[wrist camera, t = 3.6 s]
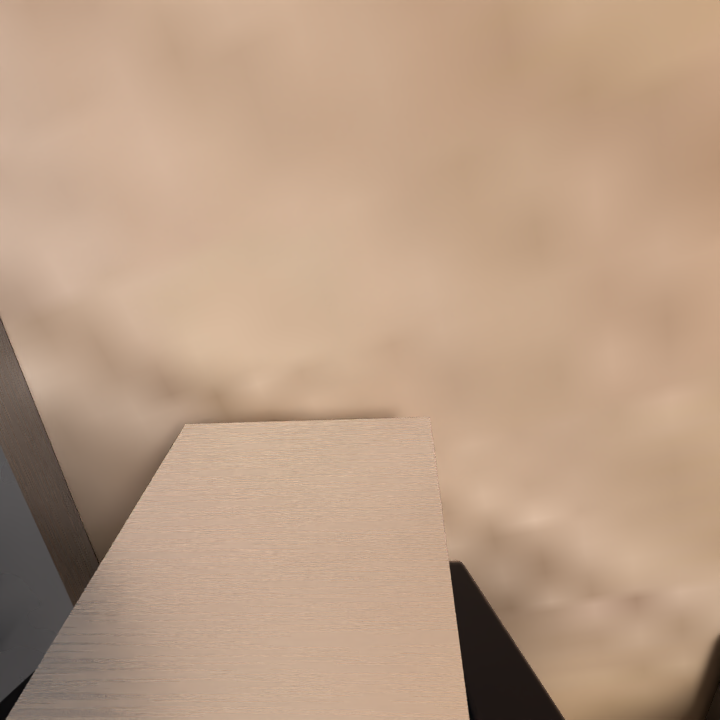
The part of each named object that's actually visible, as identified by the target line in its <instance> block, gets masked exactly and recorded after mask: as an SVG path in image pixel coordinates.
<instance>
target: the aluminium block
mask: <svg viewBox="0 0 720 720" xmlns="http://www.w3.org/2000/svg"><path fill="white" fill-rule="evenodd" d="M6 720H469V712H468V705H467V697H466V689H465V682H464V674H463V666H462V659H461V651H460V643H459V636H458V628H457V620H456V613H455V605H454V597H453V590H452V582H451V574H450V567H449V559H448V551H447V544H446V536H445V528H444V521H443V513H442V505H441V498H440V490H439V482H438V475H437V467H436V459H435V452H434V444H433V436H432V429H431V421H430V417H411V418H377V419H343V420H310V421H276V422H242V423H209V424H185V426H184V427H183V429H182V431H181V432H180V434H179V436H178V437H177V439H176V441H175V442H174V444H173V445H172V447H171V449H170V450H169V452H168V454H167V455H166V457H165V459H164V460H163V462H162V464H161V465H160V467H159V468H158V470H157V472H156V473H155V475H154V477H153V478H152V480H151V482H150V483H149V485H148V487H147V488H146V490H145V491H144V493H143V495H142V496H141V498H140V500H139V501H138V503H137V505H136V506H135V508H134V510H133V511H132V513H131V514H130V516H129V518H128V519H127V521H126V523H125V524H124V526H123V528H122V529H121V531H120V532H119V534H118V536H117V537H116V539H115V541H114V542H113V544H112V546H111V547H110V549H109V551H108V552H107V554H106V555H105V557H104V559H103V560H102V562H101V564H100V565H99V567H98V569H97V570H96V572H95V574H94V575H93V577H92V578H91V580H90V582H89V583H88V585H87V587H86V588H85V590H84V592H83V593H82V595H81V597H80V598H79V600H78V601H77V603H76V605H75V606H74V608H73V610H72V611H71V613H70V615H69V616H68V618H67V620H66V621H65V623H64V624H63V626H62V628H61V629H60V631H59V633H58V634H57V636H56V638H55V639H54V641H53V643H52V644H51V646H50V647H49V649H48V651H47V652H46V654H45V656H44V657H43V659H42V661H41V662H40V664H39V666H38V667H37V669H36V670H35V672H34V674H33V675H32V677H31V679H30V680H29V682H28V684H27V685H26V687H25V689H24V690H23V692H22V693H21V695H20V697H19V698H18V700H17V702H16V703H15V705H14V707H13V708H12V710H11V712H10V713H9V715H8V716H7V718H6Z"/></svg>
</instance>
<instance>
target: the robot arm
mask: <svg viewBox="0 0 720 720" xmlns="http://www.w3.org/2000/svg"><path fill="white" fill-rule="evenodd" d="M449 567H450V574H451V582H452V590H453V597H454V605H455V613H456V620H457V628H458V636H459V643H460V651H461V659H462V666H463V674H464V682H465V689H466V697H467V705H468V712H469V720H565V719H564V717H563V716H562V714H561V713H560V711H559V709H558V708H557V706H556V705H555V703H554V702H553V700H552V699H551V697H550V696H549V694H548V693H547V691H546V690H545V688H544V687H543V685H542V683H541V682H540V680H539V679H538V677H537V676H536V674H535V673H534V671H533V670H532V668H531V667H530V665H529V664H528V662H527V660H526V659H525V657H524V656H523V654H522V653H521V651H520V650H519V648H518V647H517V645H516V644H515V642H514V641H513V639H512V638H511V636H510V634H509V633H508V631H507V630H506V628H505V627H504V625H503V624H502V622H501V621H500V619H499V618H498V616H497V615H496V613H495V612H494V610H493V608H492V607H491V605H490V604H489V602H488V601H487V599H486V598H485V596H484V595H483V593H482V592H481V590H480V589H479V587H478V586H477V584H476V582H475V581H474V579H473V578H472V576H471V575H470V573H469V572H468V570H467V569H466V567H465V566H464V564H463V563H462V562H460V561H449ZM34 672H35V671H34ZM34 672H33V673H31V674H30V675H29V676H28V677H27V678H26V679H25V680H24V681H23V682H22V683H20V684H19V685H18V686H17V687H16V688H15V689H14V690H13V691H12V692H11V693H10V694H8V695H7V696H6V697H5V698H4V699H3V700H2V701H1V702H0V720H6V718H7V716H8V715H9V713H10V712H11V710H12V708H13V707H14V705H15V703H16V702H17V700H18V698H19V697H20V695H21V693H22V692H23V690H24V689H25V687H26V685H27V684H28V682H29V680H30V679H31V677H32V675H33V674H34ZM705 720H720V683H719V686H718V689H717V691H716V694H715V696H714V699H713V701H712V704H711V706H710V709H709V712H708V714H707V717H706V719H705Z"/></svg>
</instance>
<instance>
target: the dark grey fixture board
mask: <svg viewBox="0 0 720 720" xmlns="http://www.w3.org/2000/svg"><path fill="white" fill-rule="evenodd" d="M98 567H99V564H98V562H97V559H96V557H95V554H94V552H93V549H92V547H91V544H90V542H89V539H88V537H87V534H86V532H85V529H84V527H83V524H82V522H81V519H80V517H79V514H78V512H77V509H76V507H75V504H74V502H73V499H72V497H71V494H70V492H69V489H68V487H67V484H66V482H65V479H64V477H63V474H62V472H61V469H60V467H59V464H58V462H57V459H56V457H55V454H54V452H53V449H52V447H51V444H50V442H49V439H48V437H47V434H46V432H45V429H44V427H43V424H42V422H41V419H40V417H39V414H38V412H37V409H36V407H35V404H34V402H33V399H32V397H31V394H30V392H29V389H28V387H27V384H26V382H25V379H24V377H23V374H22V372H21V369H20V367H19V364H18V362H17V359H16V357H15V354H14V352H13V349H12V347H11V344H10V342H9V339H8V337H7V334H6V332H5V329H4V327H3V325H2V322H1V320H0V702H1V701H2V700H3V699H4V698H5V697H6V696H7V695H8V694H10V693H11V692H12V691H13V690H14V689H15V688H16V687H17V686H18V685H19V684H20V683H22V682H23V681H24V680H25V679H26V678H27V677H28V676H29V675H30V674H31V673H33V672H34V671H35V670H36V669H37V667H38V666H39V664H40V662H41V661H42V659H43V657H44V656H45V654H46V652H47V651H48V649H49V647H50V646H51V644H52V643H53V641H54V639H55V638H56V636H57V634H58V633H59V631H60V629H61V628H62V626H63V624H64V623H65V621H66V620H67V618H68V616H69V615H70V613H71V611H72V610H73V608H74V606H75V605H76V603H77V601H78V600H79V598H80V597H81V595H82V593H83V592H84V590H85V588H86V587H87V585H88V583H89V582H90V580H91V578H92V577H93V575H94V574H95V572H96V570H97V569H98Z"/></svg>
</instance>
